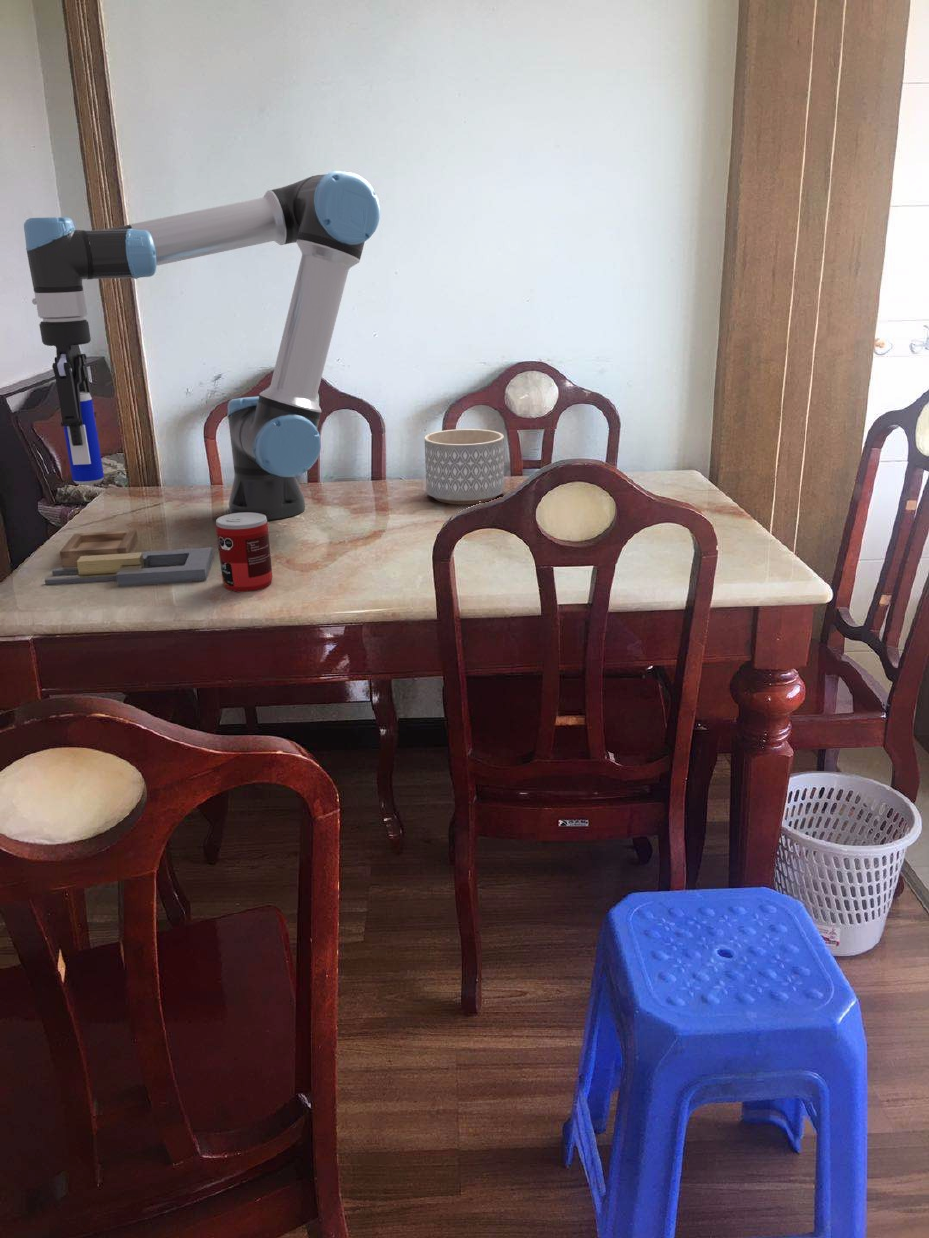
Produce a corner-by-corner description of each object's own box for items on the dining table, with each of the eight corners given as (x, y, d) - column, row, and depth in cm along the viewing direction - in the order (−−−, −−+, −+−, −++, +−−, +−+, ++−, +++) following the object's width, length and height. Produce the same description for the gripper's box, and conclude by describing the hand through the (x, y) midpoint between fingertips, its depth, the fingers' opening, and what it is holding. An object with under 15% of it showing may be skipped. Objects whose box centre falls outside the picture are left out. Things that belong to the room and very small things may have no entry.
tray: (138, 544, 183) (136, 530, 182) (128, 562, 173) (125, 547, 172) (76, 547, 182) (74, 533, 181) (62, 566, 171) (59, 551, 170)
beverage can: (111, 479, 173) (97, 392, 168) (89, 486, 169) (74, 396, 164) (88, 477, 175) (74, 390, 170) (66, 483, 171) (51, 395, 166)
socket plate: (213, 558, 174) (211, 547, 173) (205, 580, 163) (204, 569, 162) (58, 567, 171) (56, 556, 170) (40, 591, 160) (38, 579, 159)
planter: (457, 483, 221) (455, 426, 216) (519, 493, 212) (519, 433, 207) (410, 499, 209) (408, 439, 204) (474, 510, 200) (473, 447, 195)
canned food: (226, 577, 164) (219, 513, 160) (275, 575, 165) (269, 511, 161) (219, 593, 157) (211, 526, 153) (270, 591, 158) (264, 524, 154)
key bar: (144, 569, 168) (142, 552, 167) (141, 575, 166) (139, 557, 165) (83, 573, 167) (80, 556, 166) (79, 579, 165) (76, 561, 163)
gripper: (53, 315, 170) (75, 450, 179) (24, 325, 154) (49, 473, 162) (98, 314, 171) (118, 448, 180) (74, 323, 154) (97, 471, 163)
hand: (85, 460), depth 171 cm, fingers closed on beverage can, 5 cm apart
